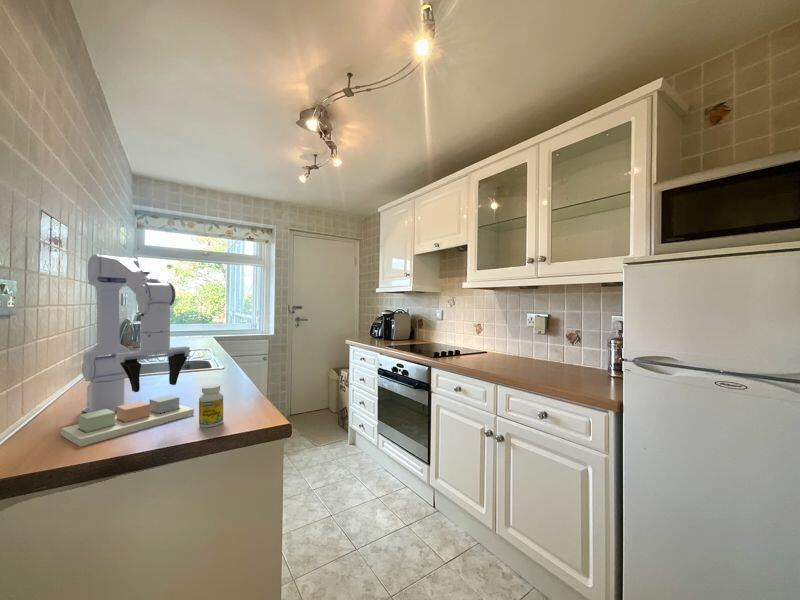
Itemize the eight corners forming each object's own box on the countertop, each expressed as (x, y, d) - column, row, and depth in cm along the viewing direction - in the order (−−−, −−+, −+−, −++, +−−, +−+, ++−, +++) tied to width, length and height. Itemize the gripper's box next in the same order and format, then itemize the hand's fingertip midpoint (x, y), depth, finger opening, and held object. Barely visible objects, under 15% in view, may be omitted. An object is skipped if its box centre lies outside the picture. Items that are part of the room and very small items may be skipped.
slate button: (149, 410, 87) (149, 399, 87) (170, 405, 91) (170, 394, 91) (158, 413, 84) (158, 402, 84) (179, 408, 89) (179, 397, 89)
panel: (61, 435, 75) (61, 428, 75) (171, 407, 95) (171, 402, 95) (80, 446, 69) (80, 439, 69) (193, 414, 89) (193, 408, 89)
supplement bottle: (222, 418, 86) (222, 382, 86) (224, 425, 81) (224, 386, 81) (198, 422, 83) (198, 385, 83) (199, 429, 78) (199, 390, 78)
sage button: (78, 427, 75) (78, 414, 75) (106, 421, 79) (106, 408, 79) (86, 432, 72) (86, 418, 72) (114, 424, 77) (115, 412, 77)
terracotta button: (116, 418, 81) (116, 406, 81) (140, 412, 85) (140, 401, 85) (125, 422, 78) (125, 409, 78) (149, 416, 83) (149, 404, 83)
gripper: (124, 335, 71) (123, 397, 70) (195, 330, 83) (195, 383, 83) (112, 333, 74) (112, 392, 74) (182, 329, 87) (182, 380, 86)
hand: (155, 387), depth 79 cm, fingers open, 7 cm apart
